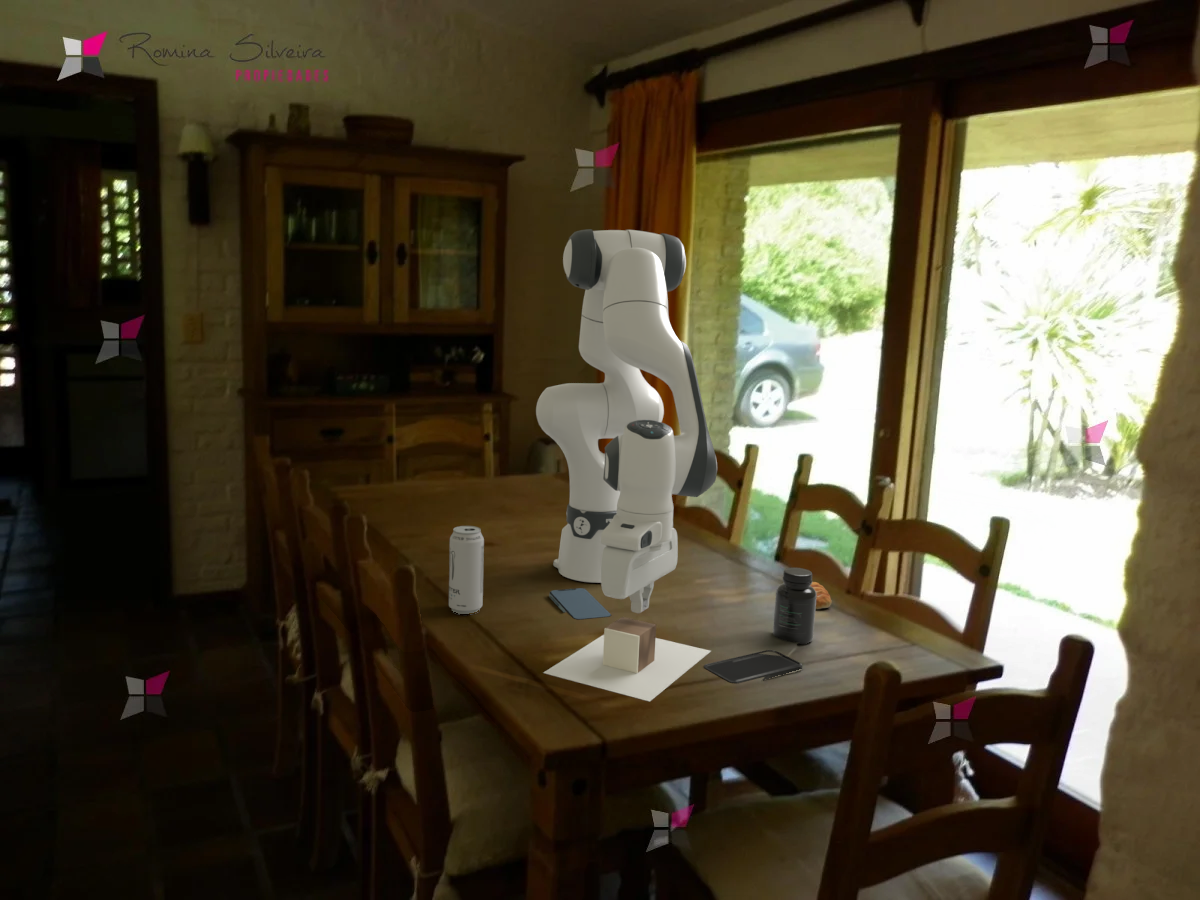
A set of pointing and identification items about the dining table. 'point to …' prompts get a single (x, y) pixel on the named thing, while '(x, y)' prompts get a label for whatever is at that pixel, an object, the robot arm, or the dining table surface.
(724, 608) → the dining table surface
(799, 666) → the phone
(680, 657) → the white mat
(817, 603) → the pastry
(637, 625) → the walnut cube
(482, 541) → the energy drink can
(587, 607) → the smartphone
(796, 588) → the supplement bottle
